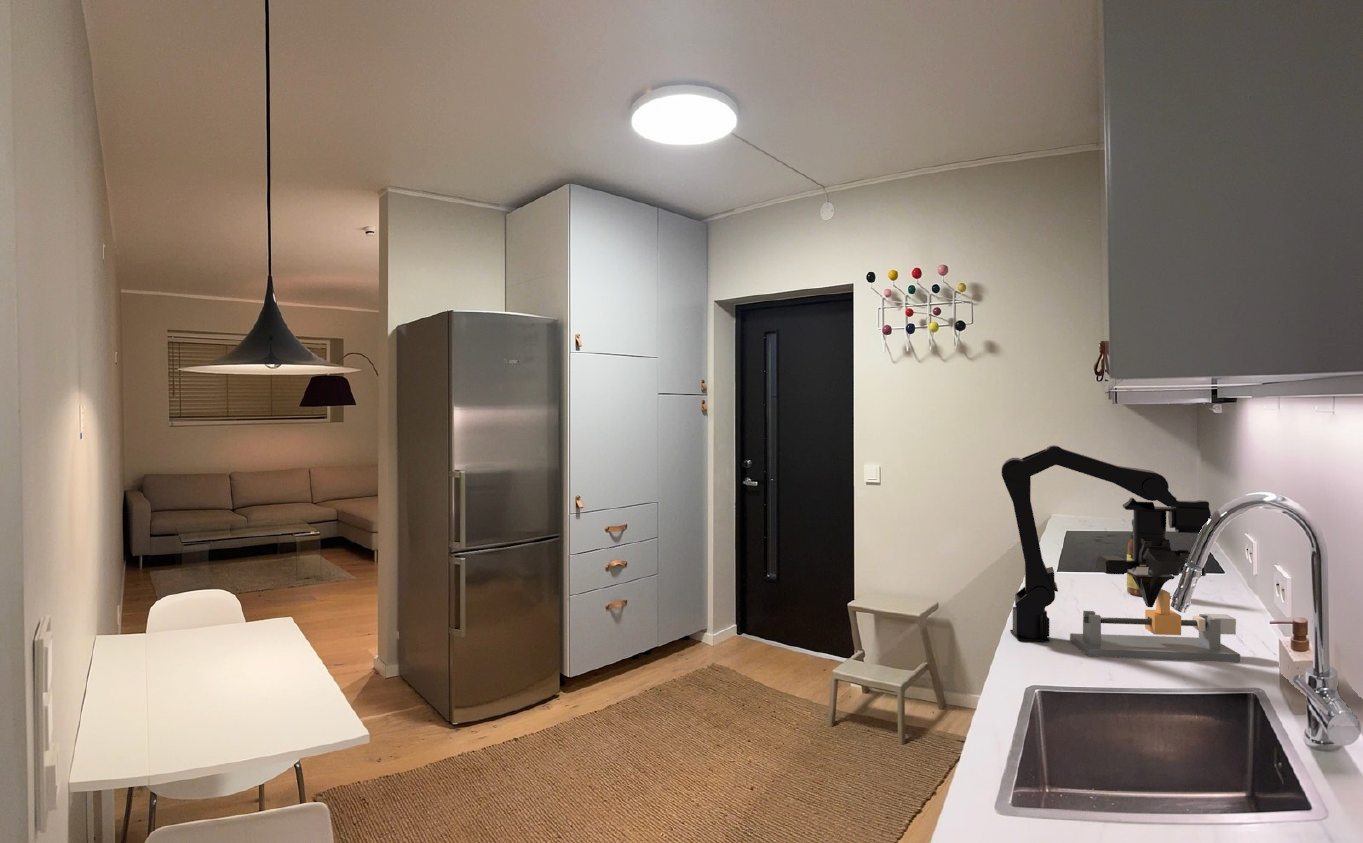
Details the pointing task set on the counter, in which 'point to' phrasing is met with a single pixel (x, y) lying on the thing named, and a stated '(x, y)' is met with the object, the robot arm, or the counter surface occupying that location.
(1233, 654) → the stand
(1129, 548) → the sauce bottle
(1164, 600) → the orange slider block
